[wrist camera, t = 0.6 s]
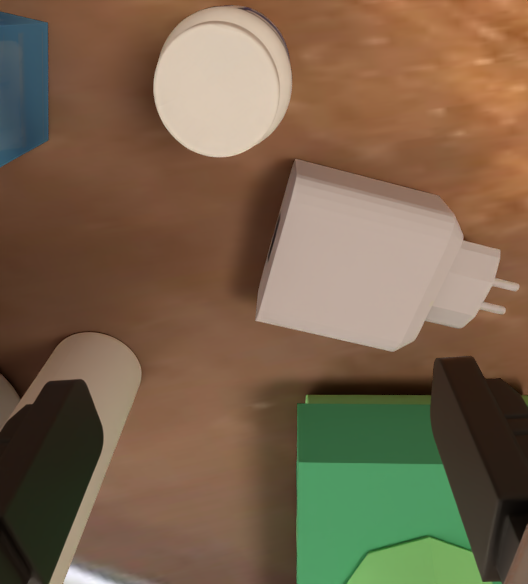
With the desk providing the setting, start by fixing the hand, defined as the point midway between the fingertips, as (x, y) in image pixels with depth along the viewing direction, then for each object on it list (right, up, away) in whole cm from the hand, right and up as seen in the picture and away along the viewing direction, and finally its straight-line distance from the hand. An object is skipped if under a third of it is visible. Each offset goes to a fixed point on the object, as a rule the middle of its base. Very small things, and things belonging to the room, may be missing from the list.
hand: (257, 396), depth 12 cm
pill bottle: (-1, +15, +16) cm, 21 cm away
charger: (+8, +5, +21) cm, 23 cm away
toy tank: (+12, -19, +34) cm, 40 cm away
